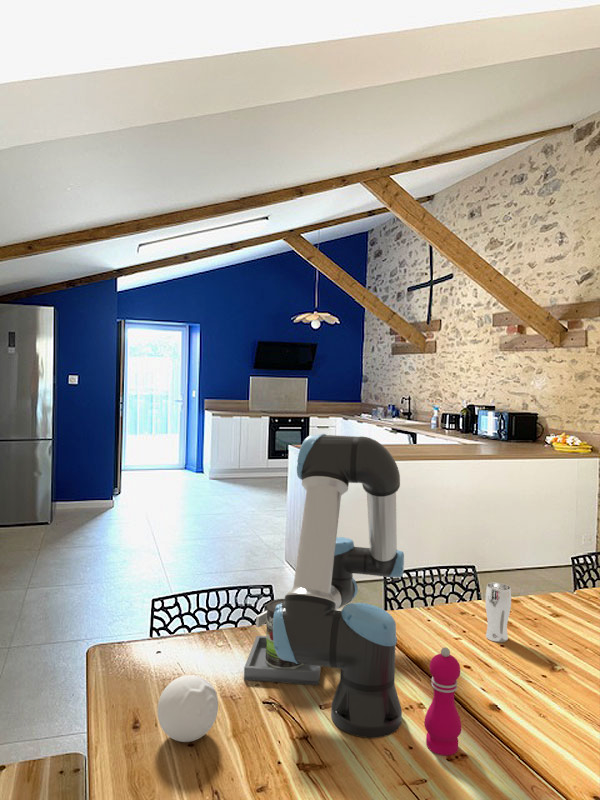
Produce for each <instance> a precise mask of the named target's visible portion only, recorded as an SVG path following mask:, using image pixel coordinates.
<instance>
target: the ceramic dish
mask: <svg viewBox="0 0 600 800" xmlns="http://www.w3.org/2000/svg"><path fill="white" fill-rule="evenodd" d="M250 649H251V650H250V651H249V654H248V657H247V660H246V663H245V665H244V667H243V669H244V670H243V680H244V681H257V682H266V683H267V682H269V683H270V682H271V683H282V684H283V683H284V684H295V685H296V684H297V685H308V686H309V685H311V686H319V685H320V678H321V670H322V666H317V665H310V664H303V665H302V666H301V667H299V668H296V669H286V668H273V667H270V666H269V665H268V664H267V663H266V661H265V658H266V635H256V636H255V639H254V642H253V644H252V647H251V648H250Z"/></svg>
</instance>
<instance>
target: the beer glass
mask: <svg viewBox="0 0 600 800" xmlns="http://www.w3.org/2000/svg"><path fill="white" fill-rule="evenodd" d="M484 603H485V610H486V611H485V612H486V618H487V620H486V621H487V627H486V633H485V637H486V639H487V640H490V641H491V642H495V643H505V642H507V641H508V639H509V636H508V635H509V634H508V622H509V617H510V614H511V613H510V612H511V608H512V588H511V586H510V585H508V584H506V583H504V582H503V583H502V582H495V581H494V582H493V581H492V582H488V583H486V589H485V602H484Z"/></svg>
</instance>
